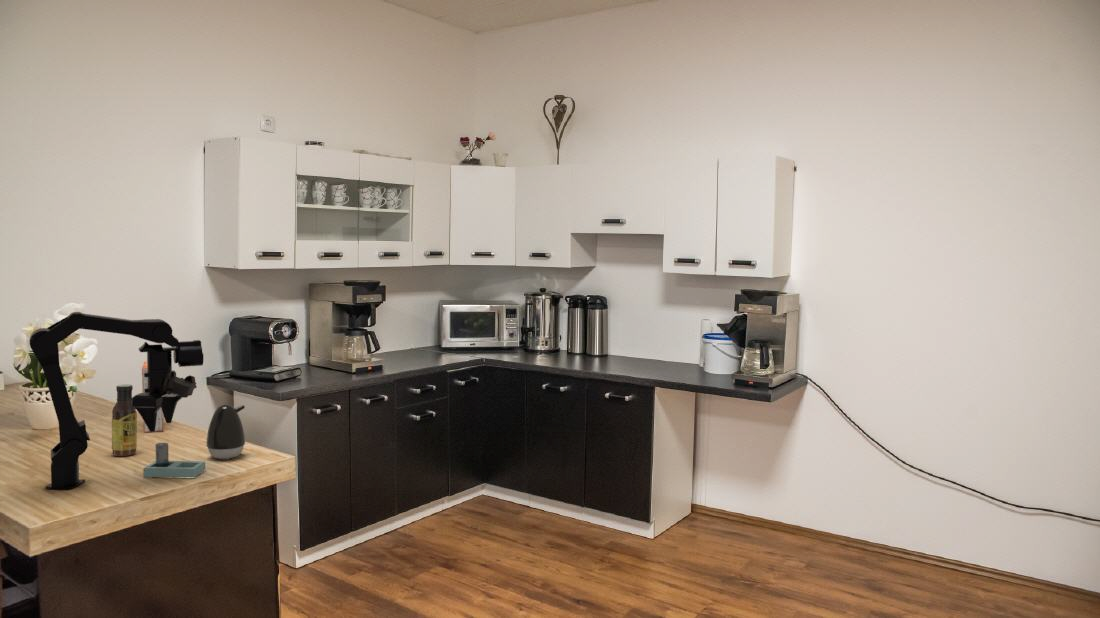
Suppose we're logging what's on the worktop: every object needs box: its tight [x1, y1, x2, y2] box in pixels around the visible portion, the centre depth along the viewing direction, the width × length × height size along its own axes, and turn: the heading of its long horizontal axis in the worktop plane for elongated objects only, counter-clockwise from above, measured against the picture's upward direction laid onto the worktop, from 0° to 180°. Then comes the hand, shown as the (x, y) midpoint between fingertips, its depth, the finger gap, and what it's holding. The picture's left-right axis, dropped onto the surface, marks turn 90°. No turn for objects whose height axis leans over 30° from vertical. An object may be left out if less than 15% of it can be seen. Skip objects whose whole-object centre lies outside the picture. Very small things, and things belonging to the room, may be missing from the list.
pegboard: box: [142, 460, 206, 479], centre depth 208 cm, size 7×13×2 cm, turn 92°
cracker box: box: [141, 360, 165, 433], centre depth 256 cm, size 14×6×21 cm, turn 25°
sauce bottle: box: [111, 383, 138, 457], centre depth 224 cm, size 7×6×20 cm
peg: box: [155, 442, 170, 467], centre depth 208 cm, size 3×3×8 cm
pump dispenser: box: [205, 403, 246, 460], centre depth 224 cm, size 10×10×15 cm
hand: (160, 427), depth 207 cm, fingers open, 9 cm apart
